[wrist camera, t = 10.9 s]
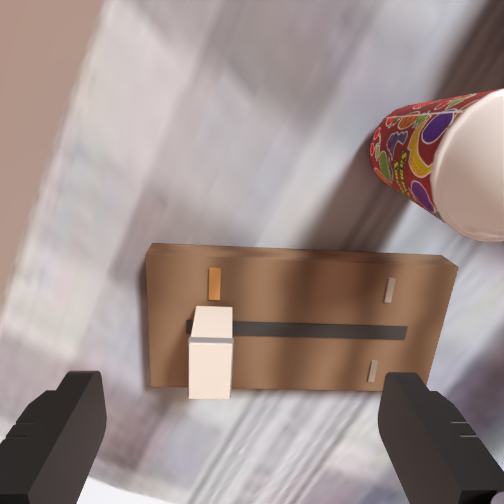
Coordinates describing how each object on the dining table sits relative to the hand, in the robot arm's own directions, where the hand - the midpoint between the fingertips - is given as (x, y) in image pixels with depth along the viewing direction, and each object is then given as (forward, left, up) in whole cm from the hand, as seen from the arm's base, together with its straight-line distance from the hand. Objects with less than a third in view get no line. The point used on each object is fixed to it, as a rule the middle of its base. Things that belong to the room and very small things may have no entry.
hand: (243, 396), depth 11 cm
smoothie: (-14, -6, -25) cm, 30 cm away
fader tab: (+2, +11, -21) cm, 24 cm away
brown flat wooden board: (-6, +11, -25) cm, 28 cm away
